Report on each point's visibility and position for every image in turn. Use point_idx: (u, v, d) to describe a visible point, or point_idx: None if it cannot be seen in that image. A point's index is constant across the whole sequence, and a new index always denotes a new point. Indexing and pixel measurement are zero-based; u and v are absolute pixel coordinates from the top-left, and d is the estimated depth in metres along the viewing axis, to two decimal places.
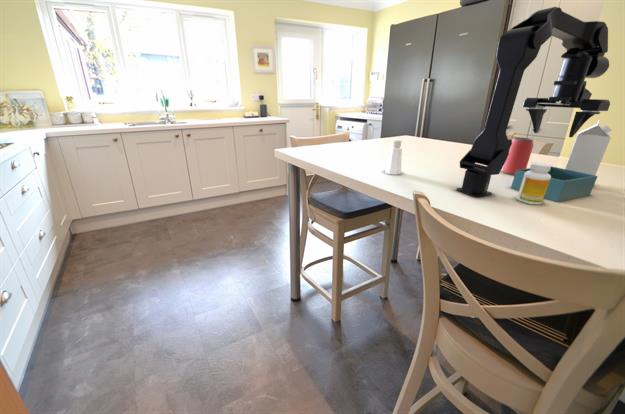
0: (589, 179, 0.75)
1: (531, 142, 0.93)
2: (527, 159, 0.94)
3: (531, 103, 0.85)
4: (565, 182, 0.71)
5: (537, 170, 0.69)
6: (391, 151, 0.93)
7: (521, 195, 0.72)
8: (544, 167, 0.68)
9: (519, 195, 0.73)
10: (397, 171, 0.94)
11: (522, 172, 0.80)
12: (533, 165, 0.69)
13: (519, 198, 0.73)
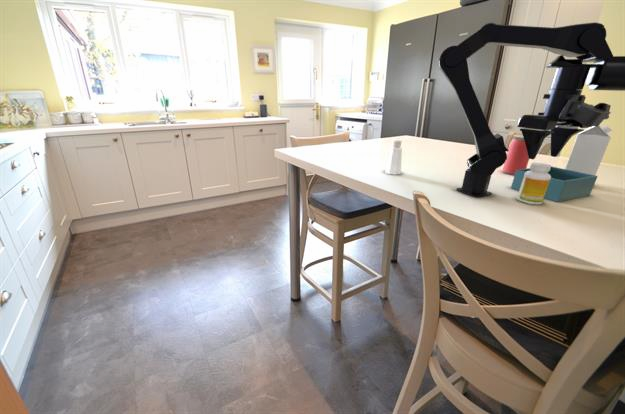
0: (589, 179, 0.75)
1: None
2: (527, 159, 0.94)
3: None
4: (565, 182, 0.71)
5: (537, 170, 0.69)
6: (391, 151, 0.93)
7: (521, 195, 0.72)
8: (544, 167, 0.68)
9: (519, 195, 0.73)
10: (397, 171, 0.94)
11: (522, 172, 0.80)
12: (533, 165, 0.69)
13: (519, 198, 0.73)
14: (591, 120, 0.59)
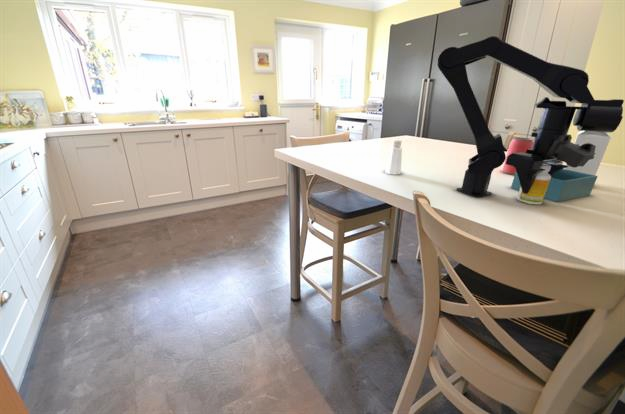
0: (589, 179, 0.75)
1: (531, 142, 0.93)
2: None
3: None
4: (565, 182, 0.71)
5: None
6: (391, 151, 0.93)
7: (521, 195, 0.72)
8: (544, 167, 0.68)
9: (519, 195, 0.73)
10: (397, 171, 0.94)
11: None
12: None
13: (519, 198, 0.73)
14: (576, 162, 0.61)
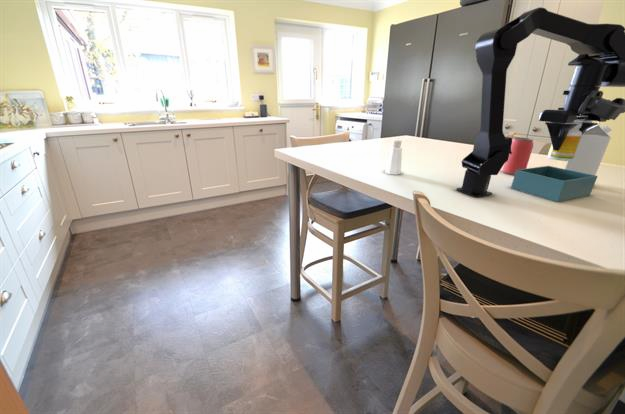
0: (589, 179, 0.75)
1: (531, 142, 0.93)
2: (527, 159, 0.94)
3: None
4: (565, 182, 0.71)
5: None
6: (391, 151, 0.93)
7: (552, 153, 0.75)
8: (576, 123, 0.71)
9: (550, 153, 0.76)
10: (397, 171, 0.94)
11: (522, 172, 0.80)
12: None
13: (550, 156, 0.76)
14: (609, 114, 0.65)
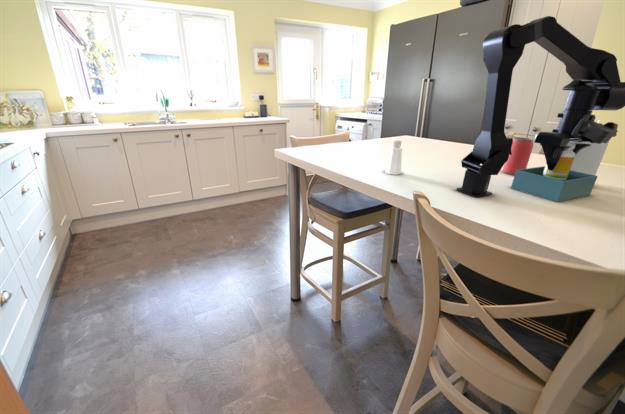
0: (589, 179, 0.75)
1: (531, 142, 0.93)
2: (527, 159, 0.94)
3: None
4: (565, 182, 0.71)
5: None
6: (391, 151, 0.93)
7: (547, 172, 0.78)
8: (569, 145, 0.74)
9: (545, 172, 0.79)
10: (397, 171, 0.94)
11: (522, 172, 0.80)
12: None
13: (545, 175, 0.79)
14: (601, 138, 0.68)
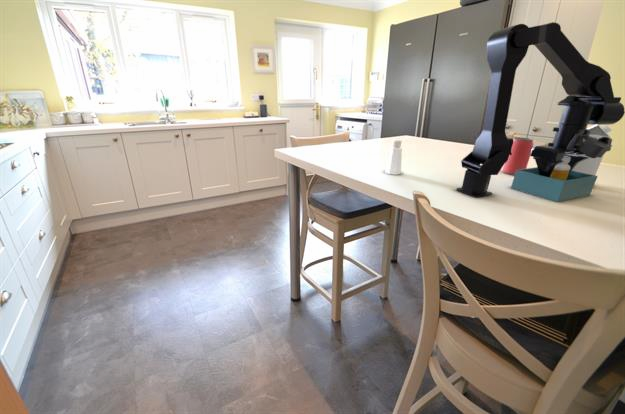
0: (589, 179, 0.75)
1: (531, 142, 0.93)
2: (527, 159, 0.94)
3: None
4: (565, 182, 0.71)
5: None
6: (391, 151, 0.93)
7: None
8: (565, 158, 0.75)
9: None
10: (397, 171, 0.94)
11: (522, 172, 0.80)
12: None
13: None
14: (595, 153, 0.69)
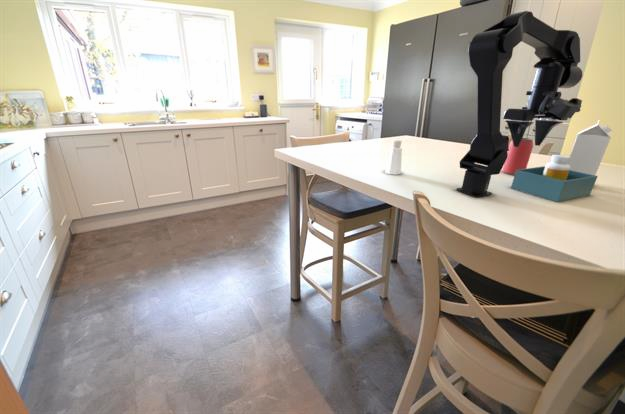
0: (589, 179, 0.75)
1: (531, 142, 0.93)
2: (527, 159, 0.94)
3: None
4: (565, 182, 0.71)
5: (558, 161, 0.76)
6: (391, 151, 0.93)
7: None
8: (565, 158, 0.75)
9: None
10: (397, 171, 0.94)
11: (522, 172, 0.80)
12: (554, 157, 0.77)
13: None
14: (564, 113, 0.71)
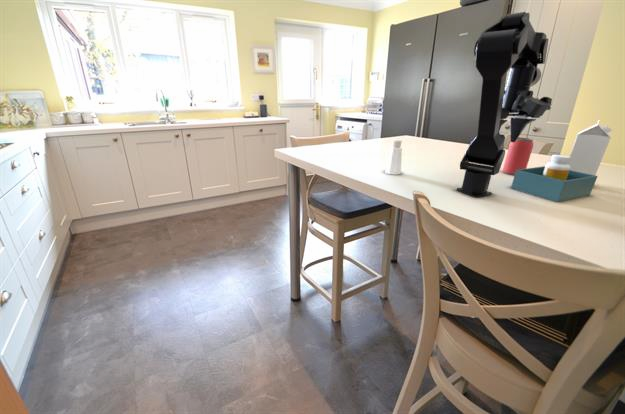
0: (589, 179, 0.75)
1: (531, 142, 0.93)
2: (527, 159, 0.94)
3: None
4: (565, 182, 0.71)
5: (558, 161, 0.76)
6: (391, 151, 0.93)
7: None
8: (564, 158, 0.75)
9: None
10: (397, 171, 0.94)
11: (522, 172, 0.80)
12: (554, 157, 0.77)
13: None
14: (535, 111, 0.74)
